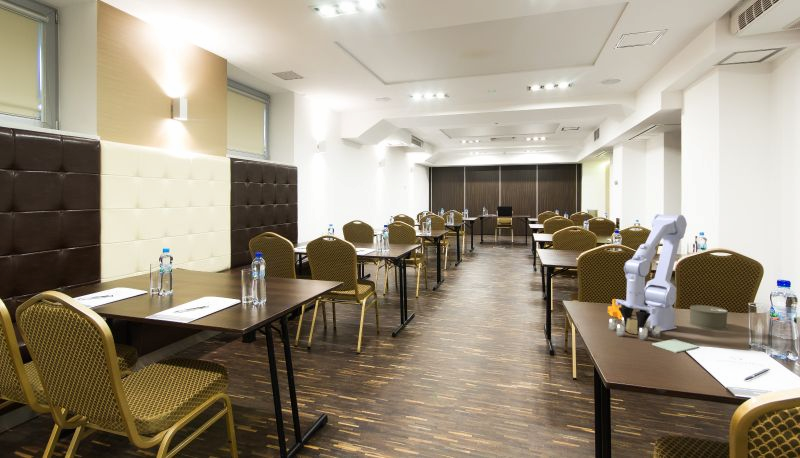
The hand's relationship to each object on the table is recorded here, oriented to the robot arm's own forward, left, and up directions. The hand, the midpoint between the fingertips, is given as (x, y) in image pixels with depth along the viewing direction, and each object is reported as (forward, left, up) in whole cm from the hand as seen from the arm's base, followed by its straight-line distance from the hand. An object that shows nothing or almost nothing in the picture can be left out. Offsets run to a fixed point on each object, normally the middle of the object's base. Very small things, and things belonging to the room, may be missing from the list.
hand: (633, 328), depth 150 cm
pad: (0, +15, -2) cm, 15 cm away
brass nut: (0, 0, -1) cm, 1 cm away
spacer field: (0, 0, -2) cm, 2 cm away
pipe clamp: (-14, -17, -2) cm, 22 cm away
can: (-36, +5, -2) cm, 37 cm away
